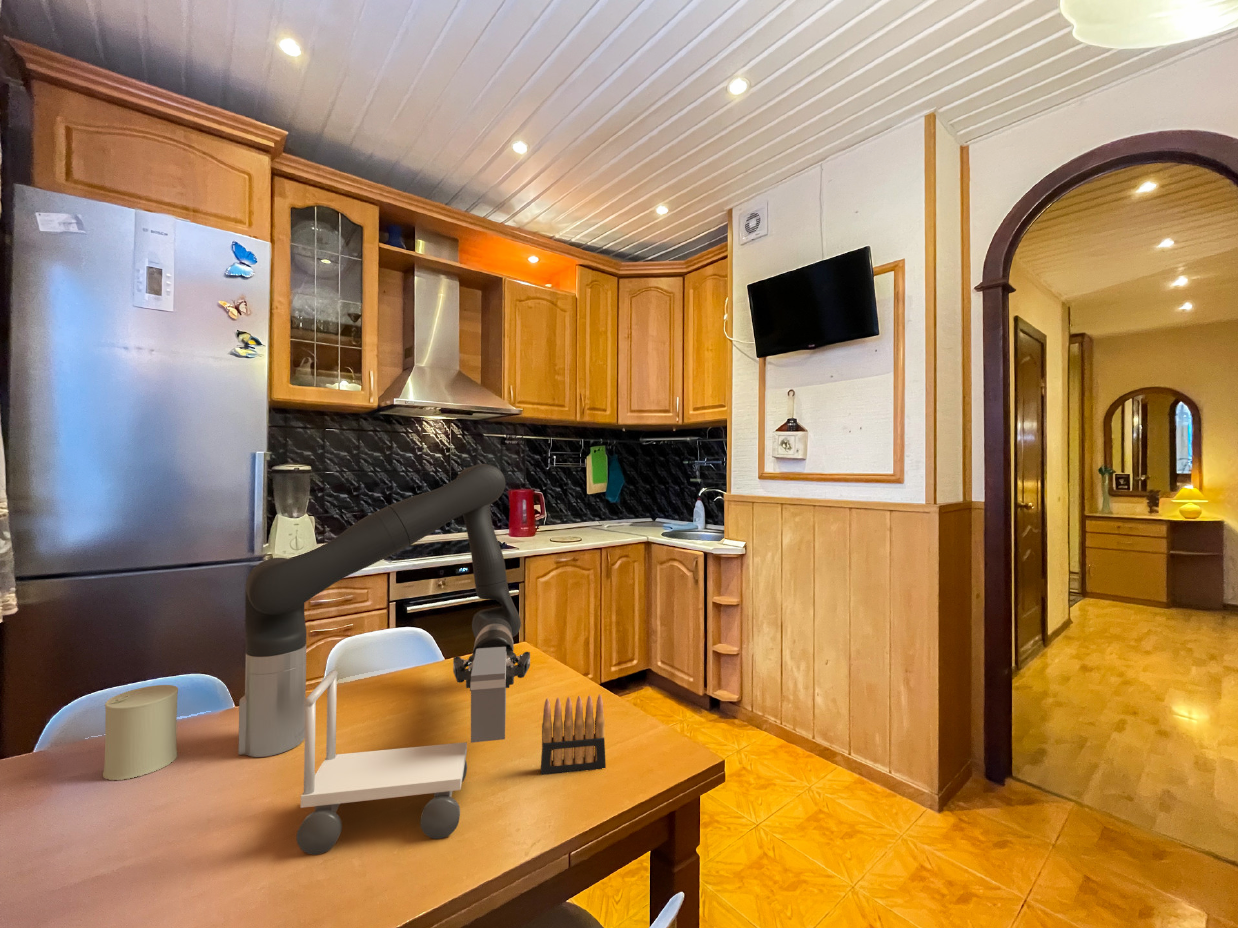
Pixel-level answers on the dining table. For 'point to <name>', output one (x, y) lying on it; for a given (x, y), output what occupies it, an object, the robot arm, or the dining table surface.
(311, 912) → the dining table surface
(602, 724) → the ammunition clip
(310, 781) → the trolley
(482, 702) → the grey lidded box
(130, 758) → the can
